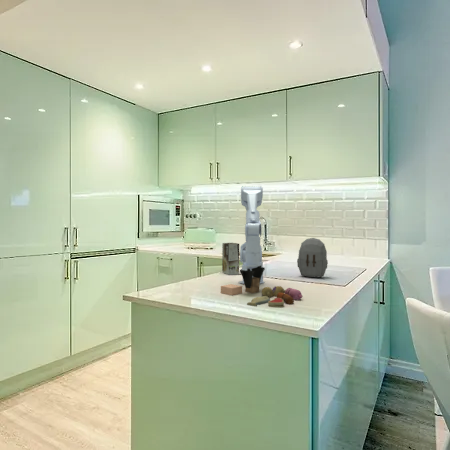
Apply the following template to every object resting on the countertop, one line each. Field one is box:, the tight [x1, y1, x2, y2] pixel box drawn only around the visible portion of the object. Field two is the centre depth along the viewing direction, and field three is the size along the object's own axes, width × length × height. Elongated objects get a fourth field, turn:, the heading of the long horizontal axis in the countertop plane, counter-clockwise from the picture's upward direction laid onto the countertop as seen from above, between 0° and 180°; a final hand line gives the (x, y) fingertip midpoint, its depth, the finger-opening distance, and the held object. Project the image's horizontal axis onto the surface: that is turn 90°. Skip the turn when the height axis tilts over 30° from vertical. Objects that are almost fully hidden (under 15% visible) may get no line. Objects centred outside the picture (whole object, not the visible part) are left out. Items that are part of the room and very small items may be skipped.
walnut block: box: [244, 277, 260, 294], centre depth 142 cm, size 4×4×6 cm
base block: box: [220, 283, 243, 296], centre depth 139 cm, size 6×6×3 cm
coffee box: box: [221, 242, 240, 276], centre depth 187 cm, size 9×6×16 cm
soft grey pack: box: [296, 237, 329, 278], centre depth 178 cm, size 15×8×20 cm, turn 65°
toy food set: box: [246, 285, 303, 308], centre depth 128 cm, size 26×16×4 cm, turn 157°
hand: (252, 286), depth 142 cm, fingers open, 7 cm apart
